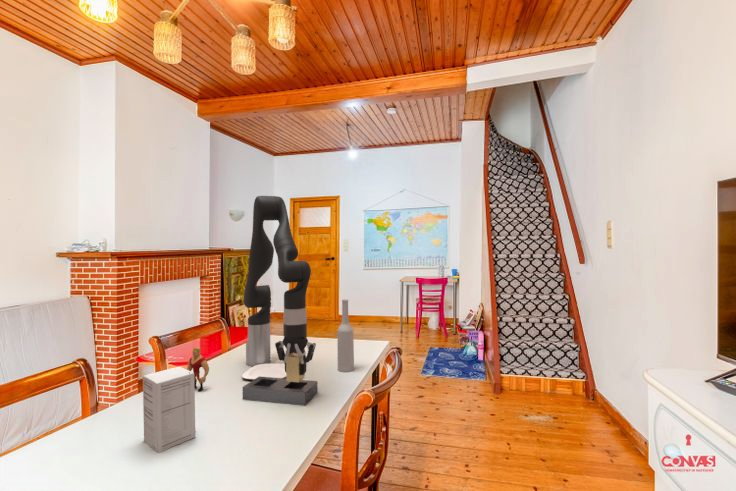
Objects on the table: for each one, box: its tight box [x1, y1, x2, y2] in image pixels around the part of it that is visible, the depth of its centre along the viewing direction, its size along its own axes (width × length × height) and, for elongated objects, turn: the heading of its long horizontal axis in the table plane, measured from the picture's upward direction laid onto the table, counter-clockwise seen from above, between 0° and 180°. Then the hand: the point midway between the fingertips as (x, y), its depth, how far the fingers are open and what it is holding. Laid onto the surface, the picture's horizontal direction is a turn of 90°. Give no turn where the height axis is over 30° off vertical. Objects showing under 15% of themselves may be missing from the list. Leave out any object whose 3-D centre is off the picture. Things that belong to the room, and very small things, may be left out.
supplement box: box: [142, 366, 196, 453], centre depth 92 cm, size 10×9×17 cm
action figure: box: [186, 346, 210, 392], centre depth 125 cm, size 10×4×15 cm, turn 70°
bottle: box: [337, 299, 355, 373], centre depth 145 cm, size 7×7×28 cm
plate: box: [241, 363, 286, 381], centre depth 140 cm, size 18×18×2 cm
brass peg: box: [285, 353, 306, 382], centre depth 117 cm, size 4×4×8 cm
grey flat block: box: [241, 376, 319, 407], centre depth 118 cm, size 22×10×4 cm, turn 76°
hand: (295, 373), depth 117 cm, fingers closed on brass peg, 4 cm apart
